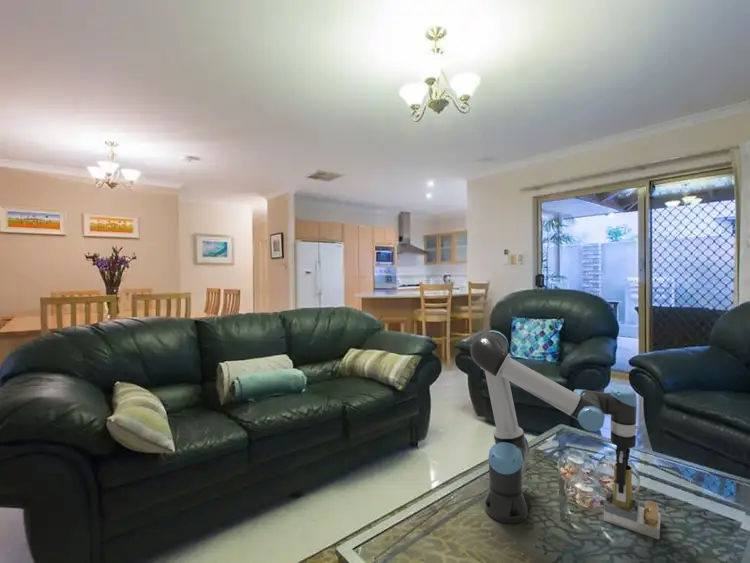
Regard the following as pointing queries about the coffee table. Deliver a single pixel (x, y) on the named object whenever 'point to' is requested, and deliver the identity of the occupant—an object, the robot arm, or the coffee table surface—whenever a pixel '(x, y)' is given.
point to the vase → (628, 503)
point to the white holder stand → (634, 516)
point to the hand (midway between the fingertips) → (622, 495)
